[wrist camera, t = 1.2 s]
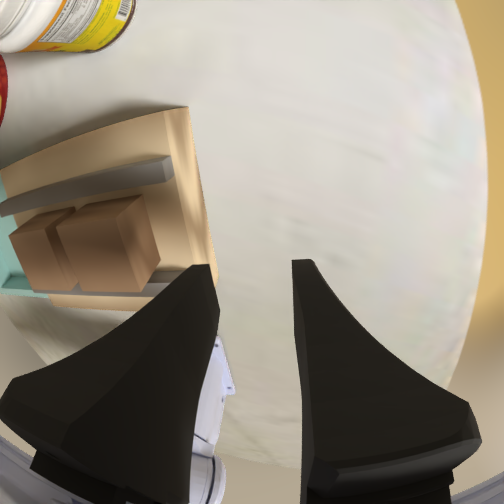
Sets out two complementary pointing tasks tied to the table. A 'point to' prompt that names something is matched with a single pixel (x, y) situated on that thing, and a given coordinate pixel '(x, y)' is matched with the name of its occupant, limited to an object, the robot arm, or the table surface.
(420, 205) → the table surface
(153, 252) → the brown block
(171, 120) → the slot deck
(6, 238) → the tray
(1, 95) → the canned food
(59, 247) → the block
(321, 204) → the table surface
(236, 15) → the table surface
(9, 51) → the supplement bottle
